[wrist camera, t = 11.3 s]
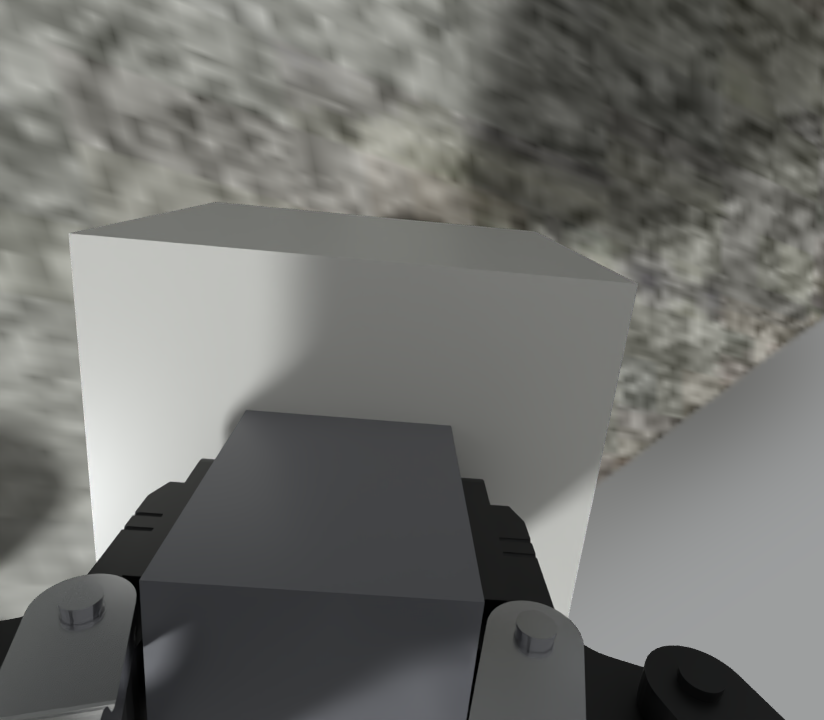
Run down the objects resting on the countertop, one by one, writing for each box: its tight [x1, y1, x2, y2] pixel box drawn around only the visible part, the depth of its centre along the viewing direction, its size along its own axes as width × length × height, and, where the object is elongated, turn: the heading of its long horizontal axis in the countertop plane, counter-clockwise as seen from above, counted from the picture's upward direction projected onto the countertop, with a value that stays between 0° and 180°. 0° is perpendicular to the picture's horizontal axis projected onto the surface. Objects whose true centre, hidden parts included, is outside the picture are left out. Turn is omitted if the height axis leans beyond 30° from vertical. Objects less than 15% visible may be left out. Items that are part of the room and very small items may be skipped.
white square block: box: [69, 202, 638, 720], centre depth 14 cm, size 10×10×14 cm
